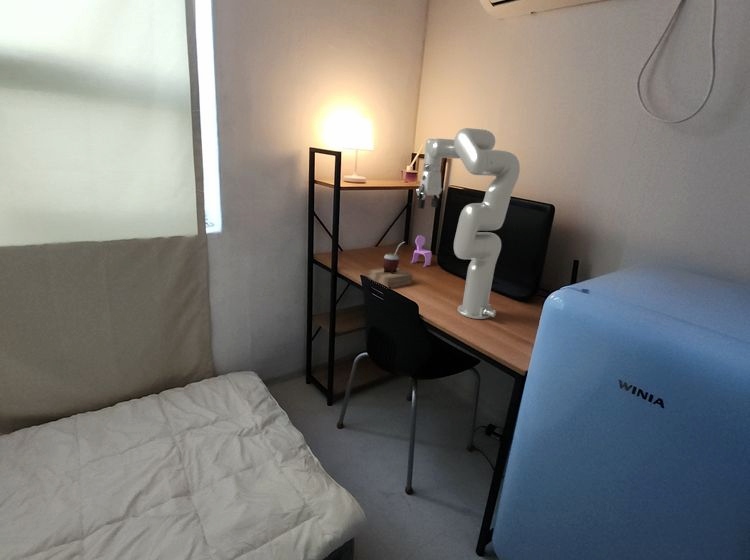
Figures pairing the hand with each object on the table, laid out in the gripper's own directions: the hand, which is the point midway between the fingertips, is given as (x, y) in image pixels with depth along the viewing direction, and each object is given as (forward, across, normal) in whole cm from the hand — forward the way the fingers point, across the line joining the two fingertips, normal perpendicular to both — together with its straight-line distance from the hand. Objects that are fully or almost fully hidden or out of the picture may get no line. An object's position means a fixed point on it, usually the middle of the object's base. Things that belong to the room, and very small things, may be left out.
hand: (427, 207), depth 185 cm
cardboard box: (+34, -17, +4) cm, 38 cm away
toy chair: (+33, +17, +14) cm, 40 cm away
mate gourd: (+29, -17, +4) cm, 34 cm away
